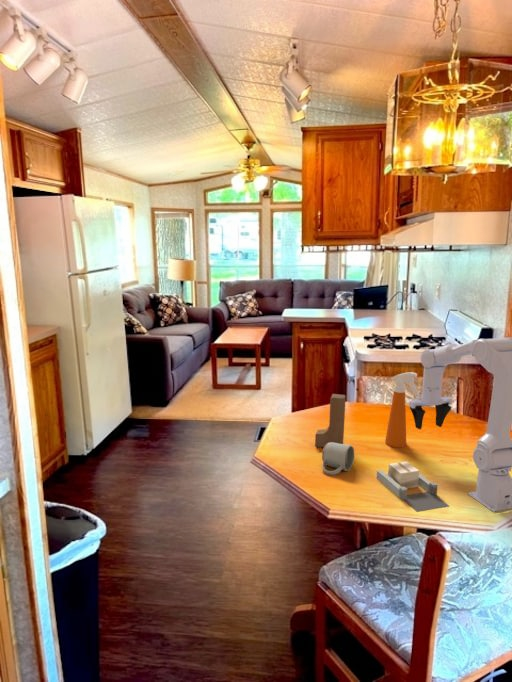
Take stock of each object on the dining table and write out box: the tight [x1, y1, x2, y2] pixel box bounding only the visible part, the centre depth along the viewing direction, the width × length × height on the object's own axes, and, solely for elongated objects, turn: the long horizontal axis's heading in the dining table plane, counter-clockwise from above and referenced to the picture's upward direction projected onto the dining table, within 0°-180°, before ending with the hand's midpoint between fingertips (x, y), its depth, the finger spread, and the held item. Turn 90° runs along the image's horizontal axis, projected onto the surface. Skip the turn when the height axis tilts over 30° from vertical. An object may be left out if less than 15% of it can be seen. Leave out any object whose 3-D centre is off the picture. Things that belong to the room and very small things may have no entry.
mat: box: [403, 491, 450, 513], centre depth 128 cm, size 8×10×1 cm
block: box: [387, 461, 420, 490], centre depth 137 cm, size 6×6×5 cm
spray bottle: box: [384, 371, 421, 448], centre depth 162 cm, size 7×11×26 cm, turn 46°
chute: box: [376, 469, 438, 501], centre depth 136 cm, size 13×11×3 cm
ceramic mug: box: [321, 442, 355, 476], centre depth 146 cm, size 11×8×8 cm
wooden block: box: [314, 393, 347, 448], centre depth 162 cm, size 9×4×18 cm, turn 72°
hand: (428, 427), depth 154 cm, fingers open, 7 cm apart
